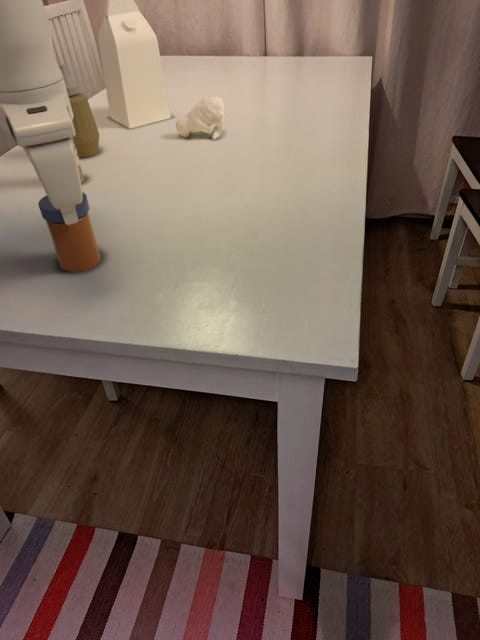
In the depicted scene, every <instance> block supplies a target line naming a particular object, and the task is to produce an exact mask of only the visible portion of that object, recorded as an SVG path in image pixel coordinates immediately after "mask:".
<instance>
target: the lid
mask: <svg viewBox="0 0 480 640" xmlns="http://www.w3.org/2000/svg"><path fill="white" fill-rule="evenodd" d="M82 194H83V200H82V202H81V203H80V204H77V205H75V209H76V213H77V217H78V219H79V218H81V217H83V216H84V215H86V214H87V213H88V212H89V211H90V204H89V200H88V197H87V194H86V193H85V192H83V191H82ZM37 203H38V204H37V205H38V208H39V211H40V215H41V217H42V219H43V220H45V222H46V221H49V222H56V223H60V222H64V219H63V216H62V213H61V211H60V209H56V208H54V207H53V205H52V204H51V202H50V200H49V198H48V196H47V194H46V195H44V196H43V197H41V198H40V199H39V201H38V202H37Z"/></svg>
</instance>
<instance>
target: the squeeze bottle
mask: <svg viewBox="0 0 480 640" xmlns="http://www.w3.org/2000/svg"><path fill="white" fill-rule="evenodd" d="M58 66H59V68H60V70H61V72H62V74H63V78H64V82H65V85H66V89H67V93H68V97H69V100H70V104H71V108H72V111H73V115H74V117H73V121H72V122H73V125H74V129H75V133H76V135H75V136H74V137H73V141H74V144H75V148H76V150H77V154H78V158H79V159H84V158H89V157H93V156H95V155H97V154H98V152H99V145H100V133H99V129H98V127H97V123H96V120H95V118H94V114H93V112H92V108H91V106H90V103H89V100H88V97H87V95H85V94H84V93H82V92H81V88H80V84H79V82H76V81H74V80H73V79H72V77H71V75H70V72H69V70H68V69H67V66H66V64H59V65H58Z"/></svg>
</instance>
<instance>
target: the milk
mask: <svg viewBox="0 0 480 640" xmlns="http://www.w3.org/2000/svg"><path fill="white" fill-rule="evenodd" d="M135 1H136V0H106V2H105V3H106V4H105V13H104V17H103V21H102V23H101V26H100V29H99V31H98V36H97V40H98V41H97V43H98V48H99V55H100V61H101V67H102V72H103V73H102V74H103V80H104V85H105V92H106V97H107V105H108V110H109V116H110V119H112V120H114V121H115V122H117V123H119V124H121V125H123V126H124V127H126V128H128V129H134V128H137V127H141V126H145V125H149V124H152V123H156V122H160V121H164V120H167V119H172V115H171V109H170V103H169V97H168V91H167V86H166V80H165V75H164V69H163V64H162V59H161V58H162V57H161V53H160V47H159V41H158V38H157V35H156V33H155V31H154V30H153V28H152V27H151V25H150V23H148V21H147V19H146V18H145V15H143V13H142V12H141V11H140V8H139V7H138V5H137V3H136V2H135Z"/></svg>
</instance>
